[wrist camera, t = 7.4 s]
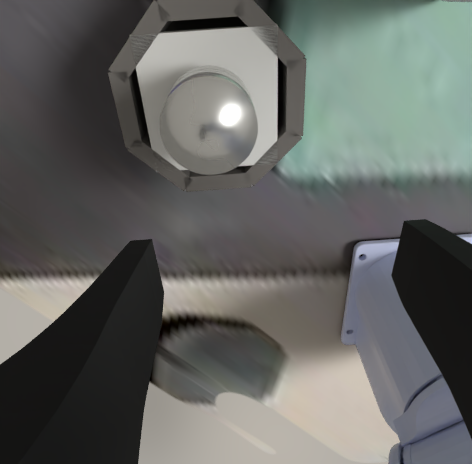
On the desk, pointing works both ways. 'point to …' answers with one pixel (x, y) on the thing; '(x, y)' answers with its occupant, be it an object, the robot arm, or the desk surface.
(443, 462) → the robot arm
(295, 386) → the desk surface
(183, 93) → the plunger
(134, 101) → the press
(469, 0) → the skincare box
